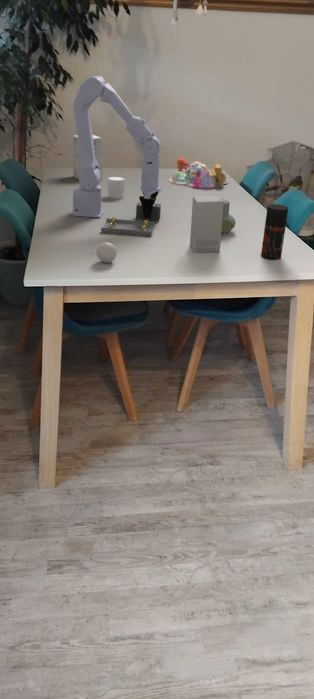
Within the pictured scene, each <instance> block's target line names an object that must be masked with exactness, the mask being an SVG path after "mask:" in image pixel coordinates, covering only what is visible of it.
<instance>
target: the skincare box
mask: <svg viewBox="0 0 314 699" xmlns="http://www.w3.org/2000/svg"><path fill="white" fill-rule="evenodd" d="M223 206H224V201H223V200H222V198H221V197H220V196H219V195H202V196H201V195H199V196H195V195H194V196H192V206H191V223H190V238H189V247H190V248H191V250H192V251H193V253H216V252H218V253H220V251H221V240H222V234H221V229H222V217H223Z"/></svg>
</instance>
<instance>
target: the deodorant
mask: <svg viewBox="0 0 314 699" xmlns="http://www.w3.org/2000/svg"><path fill="white" fill-rule="evenodd" d="M288 211H289V207H288V206H286V205H282V204H274V203H273V204H268V205H267V209H266V217H265V222H264V230H263V236H262V245H261V251H260V252H261V253H260V257H261V258H263V259H265V260H268V261H269V260H270V261H278V260H281V259H282V254H283V246H284V241H285V240H284V239H285V233H286V227H287V226H286V225H287V219H288Z"/></svg>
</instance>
